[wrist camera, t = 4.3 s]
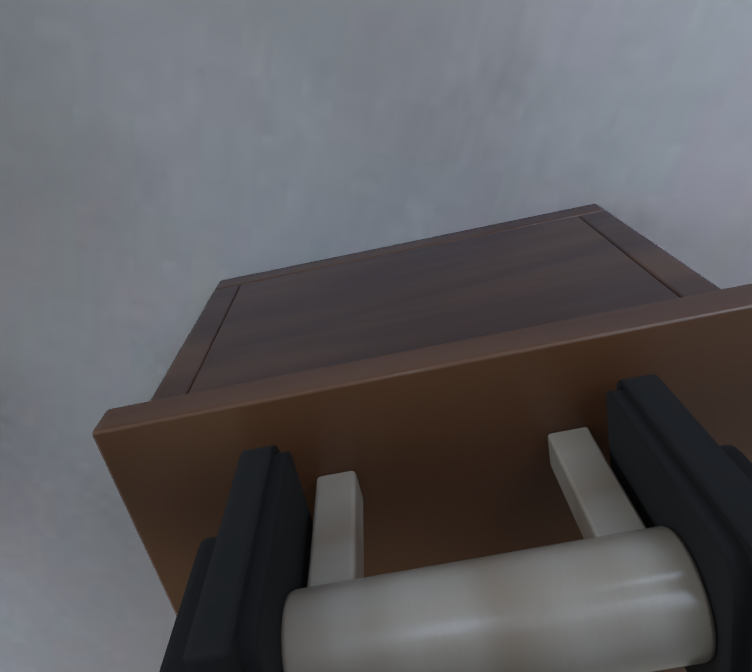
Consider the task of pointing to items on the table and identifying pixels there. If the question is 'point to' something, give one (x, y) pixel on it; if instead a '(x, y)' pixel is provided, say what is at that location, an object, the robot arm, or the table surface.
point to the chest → (424, 297)
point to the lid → (459, 493)
